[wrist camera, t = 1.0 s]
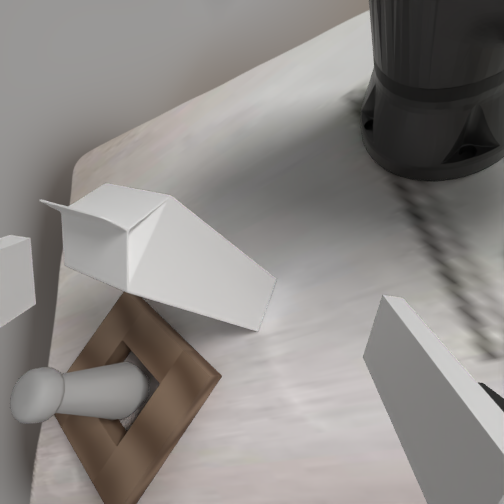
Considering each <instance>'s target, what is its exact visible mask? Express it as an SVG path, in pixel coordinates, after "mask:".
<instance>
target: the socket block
mask: <svg viewBox="0 0 504 504" xmlns="http://www.w3.org/2000/svg"><path fill="white" fill-rule="evenodd" d="M130 351H132V352H133V353H134V354H135V355H136V356H137V358H138V359H139V360H140V361H141V362H142V363H143V365H144V366H145V367H146V368H147V369H148V370H149V372H150V373H151V374H152V375H153V376H154V377H155V379H156V380H157V381H158V382H159V383H160V385H159V386H158V388H157V389H156V391H155V392H154V393H153V395H152V396H151V398H150V399H149V401H148V402H147V404H146V405H145V407H144V408H143V410H142V411H141V412H140V414H139V415H138V417H137V418H136V420H135V421H134V423H133V424H132V426H131V427H130V429H129V430H128V431H126V430H125V428H124V427H123V425H122V424H121V423H120V421H119V420H118V419H116V420H112V419H104V418H96V417H88V416H80V415H71V414H61V413H55V414H54V415H55V417H56V419H57V420H58V422H59V424H60V426H61V428H62V429H63V431H64V433H65V435H66V436H67V438H68V440H69V442H70V444H71V445H72V447H73V449H74V451H75V452H76V454H77V456H78V458H79V460H80V461H81V463H82V465H83V467H84V468H85V470H86V472H87V474H88V475H89V477H90V479H91V481H92V483H93V484H94V486H95V488H96V490H97V491H98V493H99V495H100V497H101V499H102V500H103V502H104V504H136V503H137V502H138V500H139V499H140V497H141V496H142V495H143V493H144V492H145V490H146V489H147V487H148V486H149V484H150V483H151V481H152V480H153V478H154V477H155V475H156V474H157V472H158V471H159V469H160V468H161V466H162V465H163V463H164V462H165V460H166V459H167V457H168V456H169V454H170V453H171V451H172V450H173V448H174V447H175V445H176V444H177V442H178V441H179V439H180V438H181V436H182V435H183V433H184V432H185V430H186V429H187V427H188V426H189V425H190V423H191V422H192V420H193V419H194V417H195V416H196V414H197V413H198V411H199V410H200V408H201V407H202V405H203V404H204V402H205V401H206V399H207V398H208V396H209V395H210V393H211V392H212V390H213V389H214V387H215V386H216V384H217V383H218V381H219V380H220V378H221V377H222V376H221V375H220V374H219V373H218V372H217V371H216V370H215V369H214V368H213V367H212V366H211V365H210V364H209V363H208V362H207V361H206V360H205V359H204V358H203V357H202V356H201V355H200V354H199V353H198V352H197V351H196V350H195V349H194V348H193V347H192V346H191V345H190V344H189V343H188V342H186V341H185V340H184V339H183V338H182V337H181V336H180V335H179V334H178V333H177V332H176V331H175V330H174V329H173V328H172V327H171V326H170V325H169V324H168V323H167V322H166V321H165V320H164V319H163V318H162V317H161V316H160V315H159V314H158V313H157V312H156V311H155V310H154V309H153V308H152V307H151V306H150V305H148V304H147V303H146V302H145V301H144V300H143V299H142V298H141V297H140V296H136V295H133V294H130V293H127V292H123V294H122V295H121V296H120V298H119V299H118V301H117V302H116V304H115V305H114V306H113V308H112V309H111V311H110V312H109V313H108V315H107V316H106V318H105V319H104V320H103V322H102V323H101V325H100V326H99V328H98V329H97V330H96V332H95V333H94V335H93V336H92V337H91V339H90V340H89V342H88V343H87V345H86V346H85V347H84V349H83V350H82V352H81V353H80V354H79V356H78V357H77V359H76V360H75V361H74V363H73V364H72V366H71V367H70V369H69V370H68V371H67V373H69V372H74V371H79V370H85V369H90V368H95V367H100V366H106V365H111V364H116V363H121V362H123V361H124V360H125V359H126V357H127V356H128V354H129V353H130Z"/></svg>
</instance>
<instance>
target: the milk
mask: <svg viewBox="0 0 504 504" xmlns="http://www.w3.org/2000/svg"><path fill="white" fill-rule="evenodd" d="M39 201H40V202H42V203H44V204H46V205H48V206H50V207H52V208H54V209H56V210H58V211H60V212H61V217H62V235H63V251H64V264H65V266H67V267H69V268H71V269H73V270H76V271H78V272H80V273H83V274H85V275H87V276H90V277H92V278H94V279H96V280H99V281H101V282H103V283H106V284H108V285H110V286H113V287H115V288H117V289H120V290H122V291H124V292H127V293H130V294H133V295H136V296H140V297H143V298H146V299H150V300H153V301H156V302H160V303H163V304H166V305H170V306H173V307H176V308H180V309H183V310H186V311H190V312H193V313H196V314H200V315H203V316H206V317H210V318H213V319H217V320H220V321H223V322H227V323H230V324H233V325H237V326H240V327H243V328H247V329H250V330H253V331H257V332H258V331H259V328H260V325H261V323H262V320H263V317H264V314H265V311H266V309H267V306H268V303H269V300H270V297H271V295H272V292H273V289H274V286H275V283H276V281H277V279H276V278H275V277H273V276H272V275H271V274H270V273H268V272H267V271H266V270H265V269H263V268H262V267H261V266H260V265H258V264H257V263H256V262H255V261H253V260H252V259H251V258H250V257H248V256H247V255H246V254H245V253H243V252H242V251H241V250H239V249H238V248H237V247H236V246H234V245H233V244H232V243H231V242H229V241H228V240H227V239H226V238H224V237H223V236H222V235H221V234H219V233H218V232H217V231H216V230H214V229H213V228H212V227H210V226H209V225H208V224H207V223H205V222H204V221H203V220H202V219H200V218H199V217H198V216H197V215H195V214H194V213H193V212H192V211H190V210H189V209H188V208H187V207H185V206H184V205H183V204H181V203H180V202H179V201H178V200H176V199H175V198H174V197H173V196H171V195H167V194H162V193H157V192H151V191H146V190H141V189H136V188H131V187H125V186H120V185H115V184H110V183H105V184H103V185H102V186H100V187H98V188H97V189H95V190H94V191H92V192H90V193H89V194H87V195H86V196H84V197H82V198H81V199H79V200H78V201H76V202H75V203H73V204H71V205H70V206H68V207H67V206H64V205H60V204H56V203H52V202H49V201H45V200H41V199H40V200H39Z"/></svg>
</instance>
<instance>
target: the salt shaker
mask: <svg viewBox="0 0 504 504" xmlns="http://www.w3.org/2000/svg"><path fill="white" fill-rule="evenodd" d="M148 396H149V378H148V377H147V376H146V375H145V374H144V373H143V372H142V371H141V370H140V369H139V368H138V367H137V366H136V365H134V364H131V363H129V362H121V363H116V364H111V365H106V366H100V367H95V368H90V369H85V370H79V371H74V372H69V373H63V374H61V372H59V371H57V370H56V369H54V368H49V367H43V368H37V369H32V370H29V371H28V372H26V373H25V374H24V375H23V376H22V377H21V378H19V380H18V381H17V383H16V385H15V386H14V388H13V391H12V394H11V398H10V408H11V412H12V415H13V417H14V418H15V419H16V420H17V421H18V422H20V423H26V424H30V423H38V422H43V421H46V420H48V419H49V418H50V417H52V416H53V415H54V414H55V413H61V414H71V415H80V416H88V417H96V418H104V419H112V420H116V419H124V418H127V417H128V416H129V415H131V414H132V413H133V412H134V411H136V410H137V409H138V408H139V407H140V406H141V405H142V403H143V402H144V401H145V400H146V399H147V398H148Z"/></svg>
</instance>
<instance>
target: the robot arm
mask: <svg viewBox="0 0 504 504" xmlns="http://www.w3.org/2000/svg"><path fill="white" fill-rule="evenodd" d="M369 7H370V19H371V32H372V44H373V56H374V69H373V72H372V75H371V79H370V82H369V85H368V88H367V91H366V94H365V97H364V101H363V104H362V108H361V116H360V123H361V131H362V138H363V142H364V145H365V147H366V150H367V151H368V153H369V154H370V156H371V157H372V158H373V159H374V160H375V161H376V162H377V163H378V164H379V165H380V166H382V167H383V168H385V169H386V170H388V171H390V172H392V173H394V174H397V175H399V176H402V177H406V178H410V179H416V180H426V181H438V180H449V179H454V178H459V177H463V176H467V175H470V174H473V173H476V172H478V171H480V170H483V169H485V168H487V167H489V166H491V165H492V164H494V163H496V162H497V161H499V160H500V159H502V158H503V157H504V0H369ZM35 304H36V300H35V288H34V276H33V263H32V251H31V239H30V238H27V237H21V236H14V235H8V236H5V237H2V238H0V328H1V327H2V326H4V325H5V324H6V323H8V322H10V321H11V320H13V319H14V318H16V317H17V316H19V315H20V314H21V313H23V312H25V311H26V310H27V309H29V308H31V307H32V306H33V305H35ZM363 358H364V361H365V363H366V365H367V367H368V370H369V372H370V374H371V376H372V379H373V381H374V383H375V386H376V388H377V390H378V392H379V395H380V397H381V399H382V401H383V404H384V406H385V408H386V411H387V413H388V415H389V417H390V420H391V422H392V424H393V426H394V429H395V431H396V433H397V435H398V438H399V440H400V442H401V445H402V447H403V449H404V451H405V454H406V456H407V458H408V460H409V463H410V465H411V467H412V470H413V472H414V474H415V476H416V479H417V481H418V483H419V485H420V488H421V490H422V492H423V495H424V497H425V499H426V501H427V504H504V398H502V397H501V396H500V395H498V394H497V393H496V392H494V391H493V390H492V389H490V388H489V387H487V386H486V385H485V384H483V383H478V382H477V381H476V380H475V379H474V378H473V377H472V376H471V374H470V373H469V372H468V371H467V370H466V369H465V368H464V366H463V365H462V364H461V363H460V362H459V361H458V360H457V359H456V357H455V356H454V355H453V354H452V353H451V352H450V351H449V349H448V348H447V347H446V346H445V345H444V344H443V343H442V341H441V340H440V339H439V338H438V337H437V336H436V335H435V334H434V332H433V331H432V330H431V329H430V328H429V327H428V326H427V324H426V323H425V322H424V321H423V320H422V319H421V318H420V316H419V315H418V314H417V313H416V312H415V311H414V310H413V309H412V307H411V306H410V305H409V304H408V303H407V302H406V301H405V299H404V298H400V297H394V296H387V295H382V298H381V301H380V305H379V308H378V311H377V314H376V317H375V320H374V324H373V327H372V330H371V333H370V336H369V339H368V343H367V346H366V349H365V352H364V355H363Z"/></svg>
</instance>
